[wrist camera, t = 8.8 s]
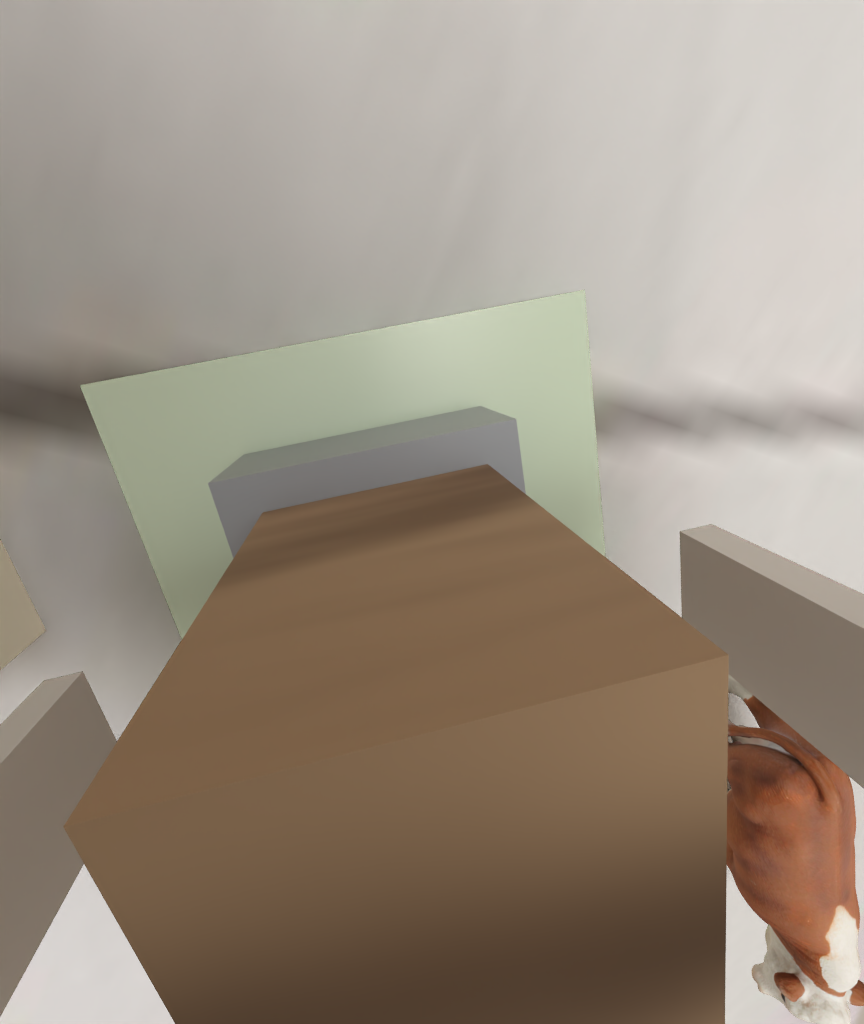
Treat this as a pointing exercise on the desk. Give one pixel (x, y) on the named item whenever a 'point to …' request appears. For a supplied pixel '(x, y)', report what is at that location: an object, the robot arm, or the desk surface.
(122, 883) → the walnut brick
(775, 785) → the bull figurine
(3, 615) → the cream brick
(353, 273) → the desk surface
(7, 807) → the robot arm
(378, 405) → the baseplate
